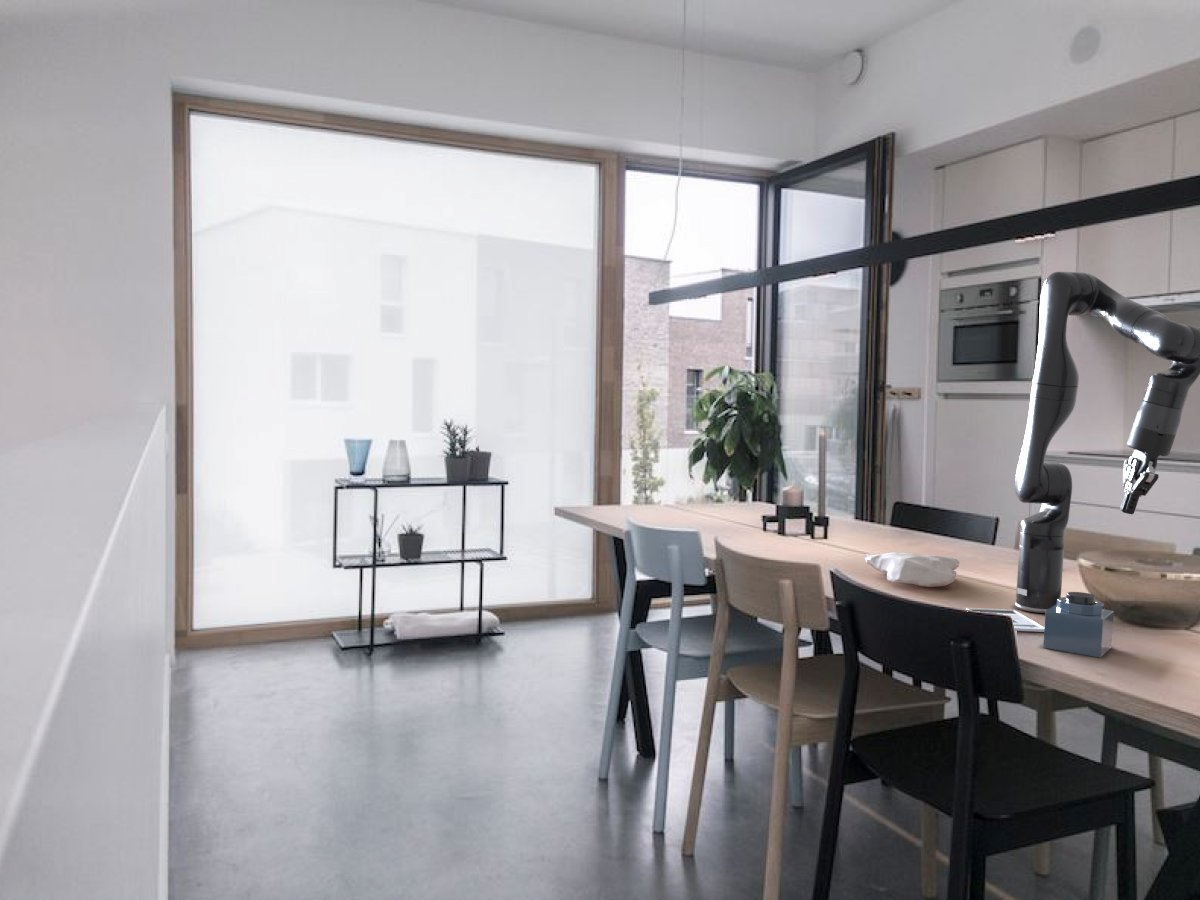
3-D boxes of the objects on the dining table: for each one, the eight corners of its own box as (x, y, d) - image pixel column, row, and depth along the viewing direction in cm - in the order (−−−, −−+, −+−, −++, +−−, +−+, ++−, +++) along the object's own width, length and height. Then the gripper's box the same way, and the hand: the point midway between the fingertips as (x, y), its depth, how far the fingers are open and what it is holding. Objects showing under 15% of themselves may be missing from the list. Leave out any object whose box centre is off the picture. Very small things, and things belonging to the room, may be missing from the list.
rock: (877, 586, 243) (859, 573, 273) (975, 592, 241) (946, 578, 270) (878, 554, 243) (860, 545, 273) (976, 559, 241) (947, 550, 271)
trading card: (1048, 632, 202) (1014, 612, 220) (1048, 629, 202) (1014, 609, 220) (995, 630, 203) (965, 610, 221) (995, 627, 203) (965, 607, 221)
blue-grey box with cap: (1056, 638, 198) (1059, 593, 197) (1111, 647, 192) (1114, 601, 191) (1043, 647, 190) (1046, 601, 189) (1100, 657, 184) (1103, 609, 183)
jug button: (1069, 599, 194) (1070, 590, 194) (1097, 603, 191) (1098, 594, 191) (1063, 603, 190) (1063, 594, 190) (1091, 607, 187) (1092, 598, 187)
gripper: (1123, 418, 197) (1096, 500, 201) (1146, 428, 185) (1116, 516, 188) (1163, 426, 196) (1135, 509, 200) (1188, 437, 184) (1158, 526, 187)
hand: (1126, 512), depth 194 cm, fingers closed
